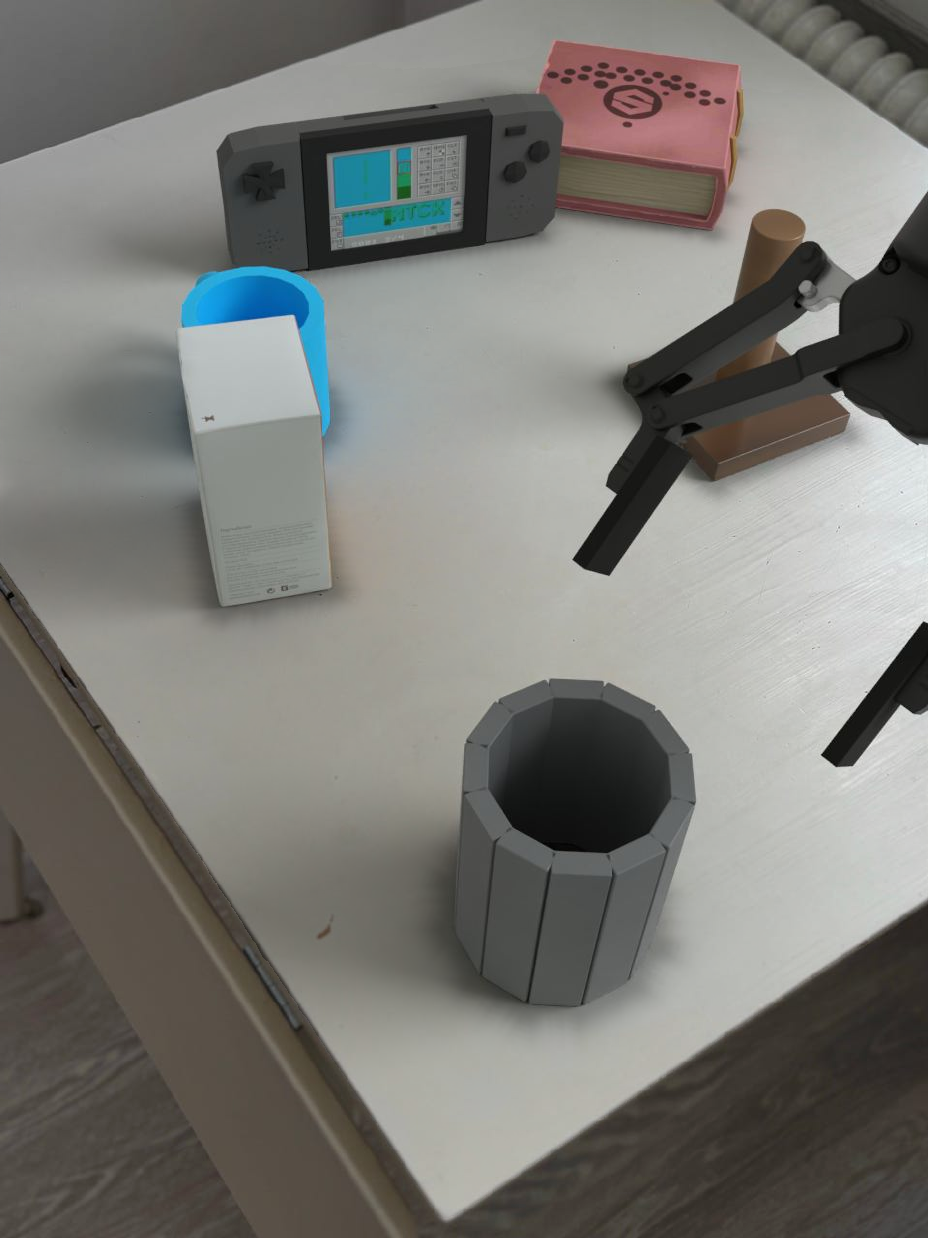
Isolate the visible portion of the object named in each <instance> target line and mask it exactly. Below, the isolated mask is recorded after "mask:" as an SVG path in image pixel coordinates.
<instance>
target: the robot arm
mask: <svg viewBox="0 0 928 1238" xmlns="http://www.w3.org/2000/svg"><path fill="white" fill-rule="evenodd" d="M832 304H839V305H838V334H837V335H835V336H831V337H829V338H825V339H822V340H820V341H817V342H814V343H811V344H808V345H805V346H802V347H800V348H798V349H797V350H796V351H795V352H794V353H793V354H790V355H791V356H788V357H785V358H782V359H779V360H777V361H774V362H771V363H768V364H765V365H762V366H759V367H756V368H753V369H750V370H747V371H744V372H742V373H739V374H736V375H733V376H730V377H727V378H724V379H721V380H718V381H715V382H712V383H709V384H706V385H704V386H701V387H698V388H695V389H692V390H689V391H686V392H683V391H685V390H686V389H688V388H689V387H691V386H693V385H694V384H696V383H698V382H699V381H701V380H702V379H704V378H706V377H707V376H709V375H710V374H712V373H714V372H715V371H717V370H718V369H720V368H722V367H723V366H725V365H726V364H728V363H730V362H731V361H733V360H734V359H736V358H738V357H739V356H741V355H742V354H744V353H746V352H747V351H749V350H751V349H752V348H754V347H755V346H757V345H759V344H760V343H762V342H763V341H765V340H767V339H768V338H770V337H771V336H773V335H775V334H776V333H778V334H779V333H780V332H781V331H783V330H784V329H786V328H788V327H789V326H790V325H792V324H794V323H795V322H796V321H798V320H799V319H800V318H802V316H804V315H805V314H806V313H807V312H811V313H817V312H820V311H822V310H824V309H825V308H827V307H828V306H829V305H832ZM646 358H647V359H646ZM646 358H645V359H646V360H644V361H642V362H641V363H639V364H638V365H636V366H635V367H633V368H632V369H630V370H629V371H628V372H627V371H626V372H625V374H624V376H623V380H622V386H623V390H624V391H625V392H626V393H627V394H629V395H630V396H631V397H632V399H633V401H634V403H636V405H637V407H638V409H639V410H640V412H641V416H642V417H641V418H642V419H641V424H640V426H639V428H638V430H637V432H636V433H635V435H634V436H633V437H632V439H631V441H630V442H629V443H628V445H626V447H625V449H624V450H623V452H622V454H621V455H620V457H619V458H618V460H617V461H616V463H615V464H614V465H613V467H612V468H611V469H610V471H609V473H608V475H607V479H606V482H605V487H606V488H607V489H609V490H610V491H612V492H613V493H614V494H615V496H614V497H613V499H612V500H611V502H610V503H609V505H608V506H607V508H606V509H605V511H604V512H603V514H602V515H601V517H600V518H599V519H598V521H597V523H595V525H594V526H593V528H592V529H591V531H590V532H589V534H588V535H587V537H586V538H585V540H584V542H583V543H582V544H581V546H580V547H579V548H578V550H577V552H576V553H575V554H574V556H573V557H572V559H571V560H572V561H573V562H574V563H576V564H577V566H579V567H580V568H582V569H583V570H584V571H589V572H593V573H596V574H600V575H603V576H606V577H610V575H612V573H613V572H614V570H615V569H616V567H617V566H618V565H619V563H620V562H621V560H622V559H623V557H624V555H625V554H626V553H627V551H628V550H629V549H630V547H631V546H632V544H633V543H634V541H635V540H636V539H637V537H638V536H639V534H640V533H641V531H642V529H644V527H645V526H646V524H647V523H648V521H649V520H650V519H651V517H652V515H653V514H654V512H655V511H656V510H657V508H658V507H659V505H660V504H661V503H662V501H663V500H664V498H665V497H666V495H667V494H668V492H669V491H670V490H671V488H672V486H673V485H674V484H675V482H676V481H677V479H678V478H679V476H680V475H681V473H682V472H683V471H684V469H685V468H686V466H687V465H688V463H689V462H690V460H691V459H693V458H692V456H693V455H691V454H690V453H688V452H687V451H686V450H685V449H684V448H683V447H682V446H681V445H680V446H679V444H680V443H687V441H686V440H685V439H684V438H687V437H690V436H693V435H696V434H699V433H702V432H705V431H708V430H711V429H714V428H718V427H721V426H724V425H727V424H730V423H733V422H736V421H739V420H742V419H745V418H748V417H751V416H754V415H757V414H761V413H764V412H767V411H770V410H773V409H776V408H779V407H782V406H785V405H788V404H791V403H794V402H797V401H800V400H804V399H807V398H810V397H813V396H818V395H830V394H831V395H833V394H837V393H840V392H843V397H844V398H846V399H847V400H848V401H849V402H850V403H851V404H852V405H854V406H855V407H856V408H858V409H859V410H861V411H862V412H864V413H865V414H867V415H868V416H871V417H872V418H877V419H880V420H883V421H887V423H888V424H889V425H890V426H891V427H892V428H893V429H894V430H895V431H896V432H897V433H899V435H901V436H902V437H904V438H905V439H907V440H908V441H910V442H911V443H913V444H914V445H915V446H917V447H918V446H919V445H923V446H928V190H926V192H925V194H924V195H923V197H921V200H920V201H919V203H918V204H917V205H916V207H915V208H914V209H913V211H912V213H911V214H910V215H909V217H908V218H907V220H906V221H905V222H904V224H903V225H902V227H901V228H900V229H899V231H898V232H897V234H896V235H895V237H894V238H893V239H892V241H891V242H890V244H889V246H888V247H887V249H886V250H885V252H884V254H883V256H882V258H881V259H880V261H879V262H878V263H877V264H876V266H875V267H874V268H872V270H870V271H868V273H866V274H864V276H862V277H860V278H858V279H855V278H854V277H853V276H852V275H850V274H849V273H848V272H847V271H845V270H844V269H842V268H841V267H840V266H839V265H837V264H836V263H835V262H834V261H833V259H831V257H830V256H829V255H828V254H827V252H826V251H825V250H824V249H823V248H822V247H821V245H820V244H819V243H818V242H815V241H814V240H806V241H803V242H802V243H801V244H800V245H799V246H798V247H797V248H796V249H795V250H794V251H793V252H792V254H791V255H790V256H789V257H788V258H787V260H786V261H785V262H784V263H783V264H782V266H781V267H780V268H779V269H778V270H777V271H776V273H775V274H774V275H773V276H772V277H771V279H770V280H769V281H767V282H766V283H764V284H762V285H761V286H759V287H758V288H756V289H755V290H753V291H751V292H750V293H748V294H747V295H745V296H744V297H742V298H741V299H739V300H737V301H736V302H734V303H733V302H732V303H731V304H729V305H728V306H726V307H725V308H723V309H722V310H720V311H719V312H717V313H716V314H714V315H712V316H711V317H709V318H707V320H705V321H702V323H700V324H699V325H697V326H695V327H694V328H692V329H691V330H689V331H688V332H686V333H684V334H683V335H682V336H680V337H678V338H677V339H675V340H673V341H672V342H670V343H669V344H667V345H666V346H664V347H663V348H661V349H659V350H658V351H656V352H655V353H653V354H652V355H650V356H649V357H646ZM681 392H683V393H681ZM677 443H679V444H677ZM900 706H902V707H903V708H904V709H905V710H907V711H908V712H910V713H911V714H913V715H918V716H921V715H923V714H924V713H926V712H928V622H926V621H924V620H923V621H922V623H920V625H919V626H918V627H917V628H916V630H915V631H914V633H913V634H912V635H911V636H910V638H909V639H908V640H907V642H906V643H905V644H904V646H902V648H901V650H900V651H899V652H898V653H897V655H896V656H895V657H894V659H893V660H892V662H891V663H890V664H889V665H888V666H887V668H886V669H885V671H884V672H882V674H881V676H880V677H879V678H878V680H877V681H876V682H875V683H874V684H873V686H872V687H871V689H870V690H869V691H868V692H867V694H866V695H865V696H864V698H863V699H862V701H861V702H860V703H859V704H858V705H857V707H856V708H855V710H854V711H852V713H851V715H850V716H849V717H848V719H847V720H846V721H845V722H844V724H843V725H842V726H841V727H840V729H839V731H838V732H837V733H836V734H835V736H834V737H833V738H832V739H831V741H830V742H829V743H828V745H827V746H826V747H825V749H824V750H823V751H822V753H821V754H820V756H821V757H822V758H823V759H825V760H826V761H828V762H829V764H831V765H832V766H834V768H846V767H847V768H848V767H854V766H855V765H856V763H857V762H858V761H859V759H860V758H861V757H862V755H863V754H864V753H865V751H867V749H868V748H869V746H870V745H871V744H872V743H873V741H874V740H875V739H876V738H877V736H878V735H879V734H880V732H881V731H882V729H884V727H885V726H886V724H887V723H888V722H889V720H891V718H892V717H893V715H894V714H895V713H896V711H897V710H898V709H899V708H900Z"/></svg>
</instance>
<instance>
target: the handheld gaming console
mask: <svg viewBox="0 0 928 1238" xmlns="http://www.w3.org/2000/svg"><path fill="white" fill-rule="evenodd" d="M563 125H564V122H563V118H562V116H561V115H560V113H559V111H558V110H557V108H556V107H555V105H554V104H553V103H552V102H551V100H550V99H549V98H548V97H547V95H546V94H536V93H510V94H502V95H495V96H487V97H479V98H471V99H463V100H456V101H448V102H440V103H431V104H424V105H418V106H417V105H415V106H407V107H400V108H391V109H385V110H384V109H383V110H376V111H368V112H361V113H353V114H346V115H336V116H329V117H321V118H320V117H319V118H313V119H305V120H298V121H290V122H282V123H274V124H266V125H258V126H253V127H249V128H246V129H241V130H237V131H234V132H230V133H227V135H226V136H225V137H224V139H223V140H222V142H221V144H220V145H219V146H218V148H217V149H216V152H215V153H216V158H217V159H216V160H217V167H218V176H219V182H220V190H221V197H222V204H223V214H224V222H225V224H224V225H225V234H226V243H227V250H228V251H227V252H228V254H229V257H230V261H231V264H232V265H233V266H235V267H236V268H241V267H263V266H264V267H270V268H276V269H282V270H286V271H289V272H292V271H299V270H305V269H309V271H316V270H317V271H318V270H324V269H325V270H326V269H331V268H338V267H344V266H351V265H358V264H364V263H370V262H377V261H384V260H385V261H386V260H391V259H398V258H404V257H411V256H418V255H425V254H431V253H432V254H433V253H438V252H445V251H450V250H457V249H464V248H470V247H477V246H478V247H479V246H485V244H486V243H490V242H497V241H503V240H509V239H510V240H511V239H517V238H522V237H526V236H528V235H534V234H537V233H542V232H544V230H545V229H546V228H547V227H548V226H549V224H551V222H552V221H553V220H554V219H555V214H556V207H555V205H556V195H557V185H558V175H559V165H560V155H561V145H562V135H563Z"/></svg>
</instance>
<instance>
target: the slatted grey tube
mask: <svg viewBox="0 0 928 1238" xmlns="http://www.w3.org/2000/svg"><path fill="white" fill-rule="evenodd" d="M463 745H464V746H463V761H462V762H463V763H462V776H461V794H460V811H459V826H458V827H459V828H458V841H457V842H458V844H457V859H456V860H457V862H456V874H455V876H456V877H455V898H454V899H455V900H454V919H453V920H454V922H453V923H454V924H453V928H454V930H455V931H454V932H455V935H456V937H457V938H458V940H459V942H460V944H461V946H462V948H463V949H464V952H465V953H466V955H467V956H468V958H469V960H470V961H471V963H472V965H473V967H474V969H475V971H476V972H477V974H481V975H482V978H483V979H484V980H487V981H488V982H490V983H492V984H494V985H495V986H497V987H499V988H501V989H502V990H503V991H505V992H507V993H508V994H510V995H512V996H513V997H515V998H516V999H519V1000H520V1001H522V1002H524V1003H526V1002H527V1001H528V1004H529V1005H543V1006H567V1007H580V1006H581V1004H583V1005H587V1004H589V1003H591V1002H593V1001H596V1000H597V999H599V998H601V997H603V996H604V995H607V994H609V993H611V992H612V991H615V990H617V989H618V988H621V987H622V986H624V985H626V984H627V982H628V980H629V981H630V980H632V978H633V976H634V975H635V973H636V971H637V970H638V967H639V966H640V964H641V962H642V961H643V959H644V957H645V955H646V954H647V952H648V950H649V948H650V946H651V945H652V943H653V941H654V937H655V934H656V931H657V928H658V925H659V921H660V918H661V915H662V913H663V909H664V906H665V902H666V899H667V897H668V893H669V889H670V887H671V884H672V880H673V878H674V874H675V871H676V868H677V865H678V862H679V859H680V856H681V852H682V849H683V846H684V843H685V839H686V837H687V833H688V831H689V827H690V823H691V821H692V818H693V814H694V811H695V808H696V803H697V793H696V783H695V771H694V770H695V769H694V761H693V753H691V752H690V747H689V746H688V745H687V744H686V743H685V741H684V739H683V738H682V737H681V736H680V734H679V733H678V732H677V730H676V729H675V728H674V727H673V725H672V724H671V722H670V721H669V720H668V718H667V717H666V716H665V714H664V713H663V712H662V710H661V709H657V706H656V705H655V704H653V703H651V702H649V701H647V700H645V699H643V698H641V697H639V696H637V695H635V694H633V693H631V692H629V691H627V690H625V689H622V688H621V687H619V686H617V685H614V684H613V683H611V682H607V683H606V684H605V682H604V680H598V679H597V680H596V679H595V680H594V679H572V678H554V677H553V678H549V680H548V681H547V680H546V679H543V680H540V681H538V682H535V683H533V684H531V685H528V686H526V687H524V688H522V689H519V690H517V691H514V692H512V693H509V694H507V695H505V696H502V697H500V698H498V700H497V701H494V702H493V703H492V705H491V706H490V707H489V708H488V710H487V711H486V712H485V713H484V714H483V716H482V718H481V719H480V720H479V721H478V723H477V724H476V726H475V727H474V728H473V729H472V731H471V732H470V733H469V735H468V736H467V737H466V739H465V743H464V744H463ZM546 843H547V844H565V845H566V844H568V845H574V846H576V847H578V848H579V849H582V850H583V851H566V850H565V851H564V850H554V849H552V848H551V847H549V846H547V845H545V844H546Z"/></svg>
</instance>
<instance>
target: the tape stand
mask: <svg viewBox="0 0 928 1238" xmlns="http://www.w3.org/2000/svg"><path fill="white" fill-rule="evenodd" d="M806 231H807V227H806V223H805V221H804V220H803V219H802V217H800V216H799V215H797V214H795V213H794V212H791V211H788V210H785V209H781V208H768V209H764V210H760V211H758V212H757V213H756V214H755V215H754V216H753V217H752V219H751V222H750V227H749V231H748V235H747V239H746V243H745V247H744V253H743V257H742V262H741V266H740V270H739V274H738V278H737V284H736V288H735V292H734V296H733V299H732V304H733V303H734V302H736V301H737V300H739V299H741V298H742V297H744V296H745V295H747V294H748V293H750V292H751V291H753V290H755V289H756V288H758V287H759V286H761V285H762V284H764V283H766V282H767V281H769V280H770V279H771V277H772V276H773V275H774V274H775V273H776V271H777V270H778V269H779V268H780V267H781V266H782V264H783V263H784V262H785V261H786V260H787V258H788V257H789V256H790V255H791V254H792V252H793V251H794V250H795V249H796V248H797V247H798V246H799V245H800V244H801V243H803V242H804V238H805V234H806ZM778 335H779V332H778V333H776V334H775V335H773V336H771V337H770V338H768V339H767V340H765V341H763V342H762V343H760V344H759V345H757V346H755V347H754V348H752V349H751V350H749V351H747V352H746V353H744V354H742V355H741V356H739V357H738V358H736V359H734V360H733V361H731V362H730V363H728V364H726V365H725V366H723V367H722V368H720V369H718V370H717V371H715V372H714V373H712V374H710V375H709V376H707V377H706V378H704V379H702V380H701V381H699V382H698V383H696V384H694V385H693V386H691V387H689V388H688V389H686V390H685V391H683V392H686V391H689V390H692V389H695V388H698V387H701V386H704V385H706V384H709V383H712V382H715V381H718V380H721V379H724V378H727V377H730V376H733V375H736V374H739V373H742V372H744V371H747V370H750V369H753V368H756V367H759V366H762V365H765V364H768V363H771V362H774V361H777V360H779V359H782V358H785V357H788V356H791V355H792V354H790V352H788V351H787V350H786V349H785V348H784V347H783V346H782V345H781V344H779V342H778V341H777V339H778ZM647 358H648V357H646V358H643V359H640V360H637V361H634V362H632V363H629V364H628V365H627V368H626V373H627V372H628V371H629V370H630V369H632V368H633V367H635V366H636V365H638V364H639V363H641V362H642V361H644V360H646V359H647ZM683 392H681V393H683ZM850 418H851V412H849V410H848V409H846V408H845V406H844V405H843V404H841V403H840V402H839V401H838V400H837V399H836V398H835V397H834V396H833V394H830V395H818V396H813V397H810V398H807V399H804V400H800V401H797V402H794V403H791V404H788V405H785V406H782V407H779V408H776V409H773V410H770V411H767V412H764V413H761V414H757V415H754V416H751V417H748V418H745V419H742V420H739V421H736V422H733V423H730V424H727V425H724V426H721V427H718V428H714V429H711V430H708V431H705V432H702V433H699V434H696V435H693V436H690V437H687V438H684V439H685V440H686V441H687V443H679V445H680V446H681V447H682V448H683V449H684V450H685V451H687V452H688V453H690V454H691V455H693V456H692V458H691V459H693V460H694V461H695V463H696V464H697V465H698V466H699V467H700V468H701V469H702V471H704V472H705V473H706V475H707V476H708V477H709V478H710V479H711V480H712V481H713V482H716V481H719V480H722V479H724V478H726V477H729V476H732V475H735V474H737V473H739V472H743V471H745V470H748V469H750V468H753V467H755V466H759V465H761V464H763V463H766V462H769V461H771V460H774V459H777V458H778V457H781V456H784V455H787V454H789V453H792V452H795V451H797V450H800V449H802V448H805V447H807V446H810V445H813V444H815V443H818V442H821V441H823V440H825V439H830V438H831V437H833V436H836V435H840V434H842V433H845V431H846V429H847V426H848V424H849V420H850Z"/></svg>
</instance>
